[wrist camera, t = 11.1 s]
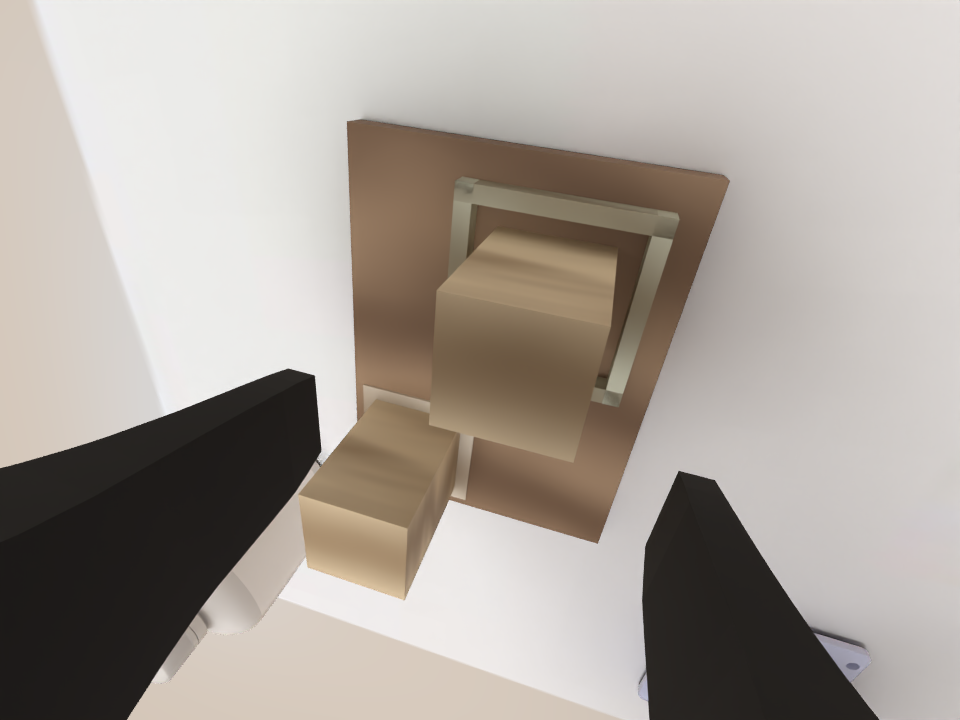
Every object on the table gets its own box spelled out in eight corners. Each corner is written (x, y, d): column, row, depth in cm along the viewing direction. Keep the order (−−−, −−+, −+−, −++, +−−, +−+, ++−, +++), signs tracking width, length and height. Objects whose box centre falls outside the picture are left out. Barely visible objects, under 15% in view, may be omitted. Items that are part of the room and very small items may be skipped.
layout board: (598, 526, 23) (587, 679, 17) (368, 460, 25) (287, 575, 19) (723, 175, 14) (785, 236, 9) (361, 119, 17) (213, 139, 11)
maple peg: (590, 354, 17) (573, 462, 12) (485, 331, 18) (429, 424, 13) (618, 247, 15) (610, 327, 10) (497, 226, 16) (436, 290, 11)
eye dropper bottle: (332, 444, 25) (132, 683, 15) (342, 518, 28) (180, 760, 18) (259, 427, 26) (26, 642, 16) (277, 500, 29) (88, 721, 19)
